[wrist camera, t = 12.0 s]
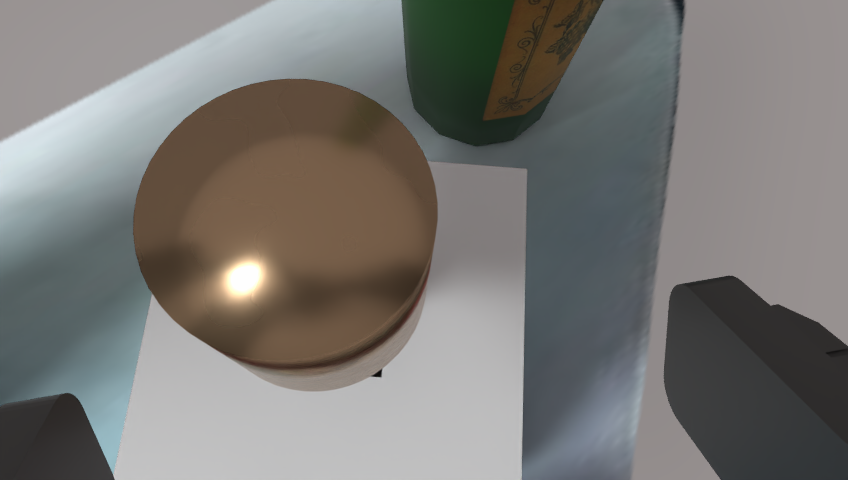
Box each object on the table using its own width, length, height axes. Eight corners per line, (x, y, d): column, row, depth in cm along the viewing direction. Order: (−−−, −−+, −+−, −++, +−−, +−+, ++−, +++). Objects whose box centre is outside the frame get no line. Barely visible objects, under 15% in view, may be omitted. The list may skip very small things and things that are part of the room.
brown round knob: (296, 425, 26) (101, 347, 9) (310, 315, 27) (166, 68, 10) (407, 433, 26) (427, 372, 9) (415, 323, 27) (446, 90, 10)
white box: (253, 489, 32) (105, 514, 16) (282, 290, 35) (184, 141, 19) (458, 504, 32) (520, 543, 16) (467, 304, 35) (526, 168, 19)
